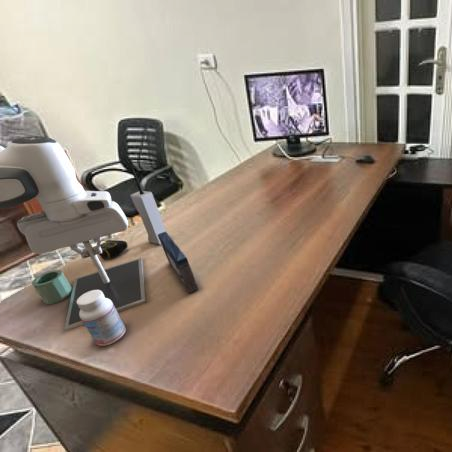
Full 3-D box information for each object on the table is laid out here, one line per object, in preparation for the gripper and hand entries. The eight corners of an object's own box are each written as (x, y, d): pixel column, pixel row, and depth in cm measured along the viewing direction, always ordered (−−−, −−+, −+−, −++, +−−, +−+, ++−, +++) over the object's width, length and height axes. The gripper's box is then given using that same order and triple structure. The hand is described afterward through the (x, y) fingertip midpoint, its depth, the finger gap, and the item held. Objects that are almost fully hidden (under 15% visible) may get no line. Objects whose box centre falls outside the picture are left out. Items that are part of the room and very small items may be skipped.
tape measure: (130, 248, 110) (126, 238, 108) (114, 261, 104) (109, 251, 102) (113, 247, 111) (108, 237, 109) (95, 260, 106) (90, 249, 104)
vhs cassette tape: (168, 263, 100) (157, 234, 95) (179, 259, 102) (168, 230, 97) (187, 295, 87) (174, 262, 82) (199, 290, 88) (187, 257, 83)
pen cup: (41, 307, 88) (29, 289, 85) (46, 293, 93) (34, 275, 90) (71, 298, 90) (60, 279, 87) (73, 284, 95) (63, 266, 92)
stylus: (103, 284, 91) (81, 242, 85) (103, 281, 93) (82, 239, 86) (109, 282, 92) (88, 240, 86) (109, 279, 93) (88, 238, 87)
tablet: (65, 331, 79) (63, 328, 79) (75, 281, 97) (74, 278, 96) (146, 302, 86) (144, 299, 85) (142, 260, 103) (141, 257, 103)
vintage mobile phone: (158, 236, 115) (130, 164, 103) (169, 239, 113) (141, 165, 100) (149, 242, 112) (118, 168, 100) (160, 245, 110) (130, 170, 98)
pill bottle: (91, 338, 77) (67, 299, 71) (120, 321, 80) (99, 283, 75) (101, 351, 73) (77, 311, 67) (131, 333, 77) (110, 294, 71)
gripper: (9, 224, 75) (41, 276, 82) (115, 198, 83) (136, 247, 89) (16, 213, 80) (46, 263, 87) (115, 190, 87) (136, 237, 94)
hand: (92, 255), depth 88 cm, fingers closed on stylus, 1 cm apart
